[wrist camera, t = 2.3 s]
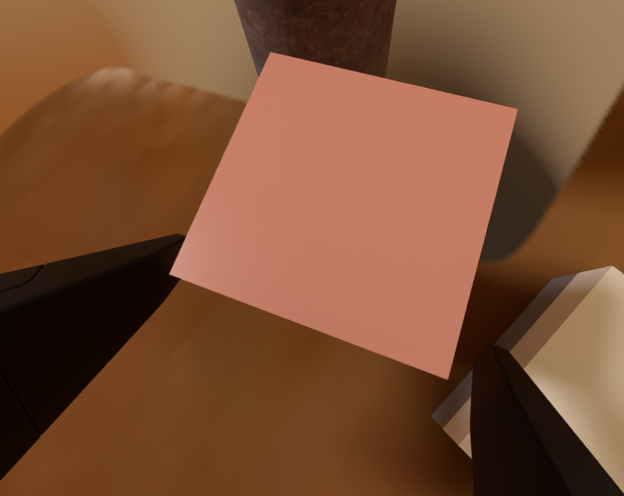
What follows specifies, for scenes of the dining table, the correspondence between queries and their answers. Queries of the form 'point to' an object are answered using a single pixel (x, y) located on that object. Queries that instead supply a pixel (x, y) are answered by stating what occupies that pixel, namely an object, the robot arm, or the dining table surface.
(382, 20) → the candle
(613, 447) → the base block
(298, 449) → the dining table surface
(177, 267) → the top brick
